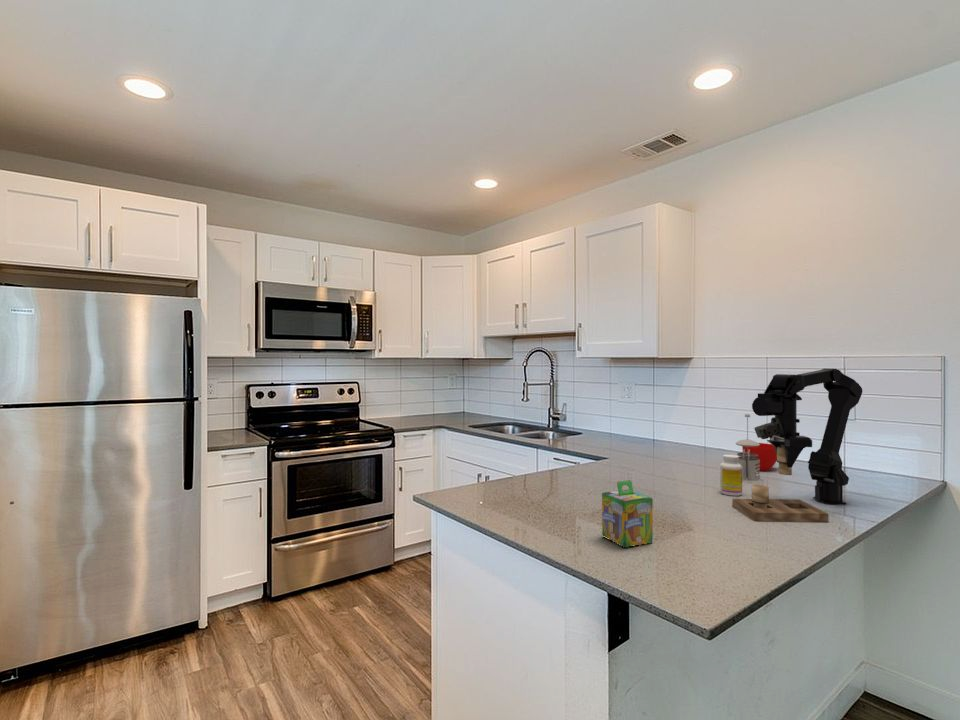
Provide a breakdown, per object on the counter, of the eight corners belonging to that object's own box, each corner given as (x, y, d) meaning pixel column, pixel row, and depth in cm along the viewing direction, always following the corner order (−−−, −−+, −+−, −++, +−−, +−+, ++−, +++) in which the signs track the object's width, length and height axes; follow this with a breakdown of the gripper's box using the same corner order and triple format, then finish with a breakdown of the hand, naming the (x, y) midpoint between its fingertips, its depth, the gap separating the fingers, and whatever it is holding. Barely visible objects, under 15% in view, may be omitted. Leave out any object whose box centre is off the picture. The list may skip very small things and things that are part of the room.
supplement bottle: (745, 496, 165) (744, 458, 165) (723, 495, 166) (723, 457, 166) (738, 491, 171) (738, 454, 171) (718, 490, 173) (717, 453, 173)
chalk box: (624, 549, 120) (624, 487, 120) (600, 537, 128) (600, 479, 128) (654, 543, 123) (654, 483, 123) (629, 532, 132) (629, 476, 132)
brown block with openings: (799, 507, 153) (799, 481, 153) (828, 522, 139) (828, 493, 139) (732, 506, 154) (732, 480, 154) (754, 521, 140) (754, 492, 140)
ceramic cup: (795, 472, 199) (795, 447, 199) (752, 472, 199) (752, 447, 199) (776, 466, 212) (776, 442, 212) (736, 466, 212) (736, 442, 212)
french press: (763, 479, 189) (763, 413, 189) (761, 485, 179) (761, 416, 179) (734, 476, 194) (734, 411, 194) (731, 482, 184) (730, 414, 184)
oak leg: (789, 472, 156) (789, 446, 156) (796, 475, 151) (796, 449, 151) (774, 472, 156) (774, 446, 156) (781, 475, 152) (781, 449, 152)
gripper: (745, 411, 164) (744, 459, 164) (772, 418, 145) (772, 471, 145) (780, 412, 163) (780, 459, 163) (813, 418, 144) (813, 472, 144)
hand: (785, 465), depth 154 cm, fingers closed on oak leg, 4 cm apart
